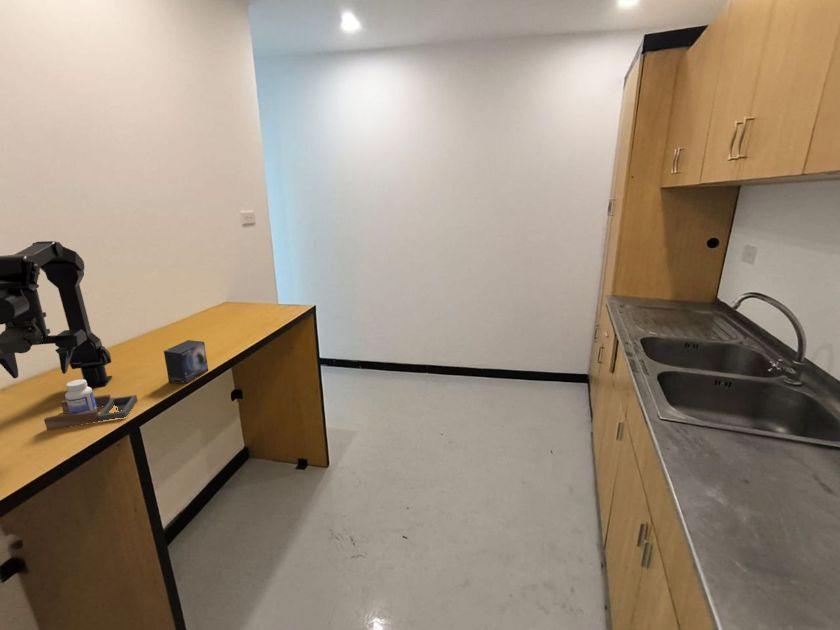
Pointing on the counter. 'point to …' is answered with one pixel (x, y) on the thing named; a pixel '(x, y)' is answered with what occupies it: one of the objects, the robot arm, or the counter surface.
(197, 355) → the small box
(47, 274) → the robot arm
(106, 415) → the dark shallow tray
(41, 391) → the counter surface
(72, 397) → the pill bottle
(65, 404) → the walnut channel
